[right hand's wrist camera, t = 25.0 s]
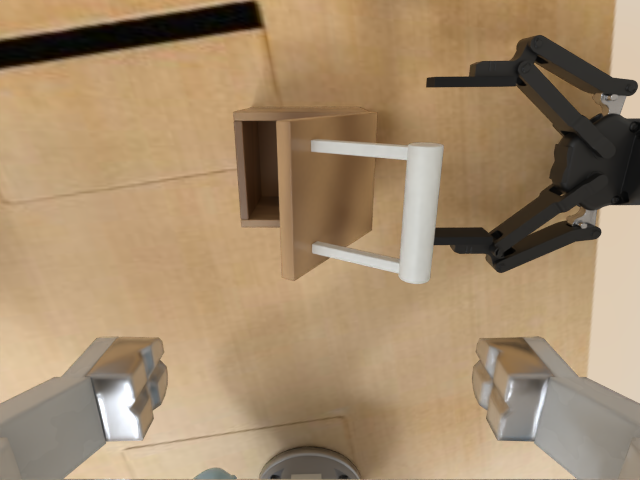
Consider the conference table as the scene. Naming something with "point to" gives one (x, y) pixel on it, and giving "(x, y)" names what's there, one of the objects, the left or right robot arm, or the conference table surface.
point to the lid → (350, 195)
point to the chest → (265, 158)
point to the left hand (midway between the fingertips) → (423, 164)
